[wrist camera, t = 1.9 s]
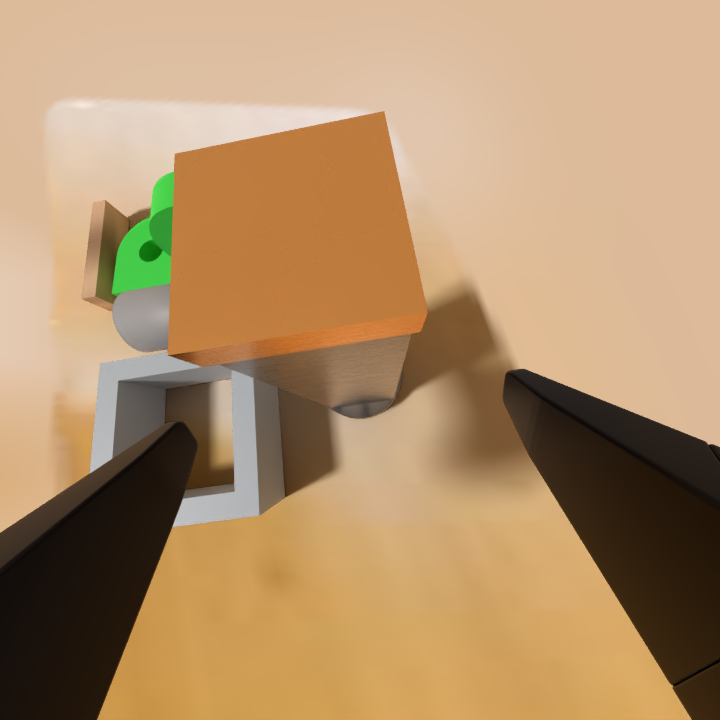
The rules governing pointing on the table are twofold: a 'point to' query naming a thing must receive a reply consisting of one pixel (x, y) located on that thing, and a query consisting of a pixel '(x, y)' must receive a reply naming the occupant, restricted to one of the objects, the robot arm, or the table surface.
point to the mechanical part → (148, 244)
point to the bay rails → (103, 253)
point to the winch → (147, 412)
